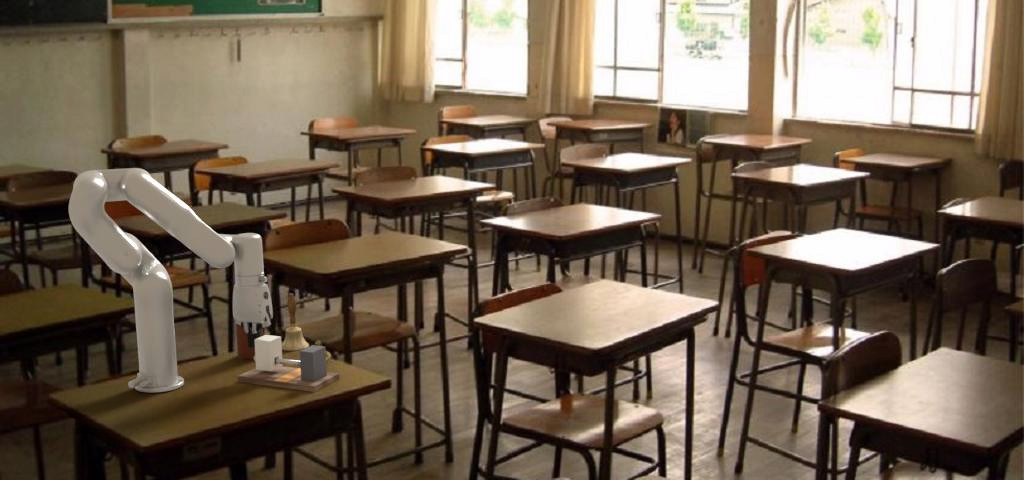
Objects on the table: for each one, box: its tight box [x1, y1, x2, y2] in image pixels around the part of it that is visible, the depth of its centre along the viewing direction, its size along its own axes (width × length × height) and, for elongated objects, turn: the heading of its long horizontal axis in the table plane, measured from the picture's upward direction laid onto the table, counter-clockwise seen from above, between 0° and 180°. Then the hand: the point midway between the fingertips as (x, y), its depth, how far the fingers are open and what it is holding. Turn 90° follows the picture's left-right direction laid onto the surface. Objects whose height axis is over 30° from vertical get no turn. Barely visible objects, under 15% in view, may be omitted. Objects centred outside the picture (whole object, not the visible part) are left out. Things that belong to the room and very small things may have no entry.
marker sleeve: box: [254, 334, 284, 371], centre depth 333 cm, size 5×5×8 cm
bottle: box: [235, 323, 264, 360], centre depth 352 cm, size 7×7×25 cm
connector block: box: [299, 344, 328, 382], centre depth 327 cm, size 6×4×8 cm, turn 156°
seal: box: [296, 340, 333, 364], centre depth 350 cm, size 9×5×15 cm
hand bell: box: [281, 292, 310, 352], centre depth 362 cm, size 8×8×16 cm
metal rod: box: [253, 356, 301, 367], centre depth 332 cm, size 1×16×1 cm, turn 66°
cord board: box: [237, 365, 340, 393], centre depth 332 cm, size 12×24×2 cm, turn 66°
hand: (254, 346), depth 335 cm, fingers closed
